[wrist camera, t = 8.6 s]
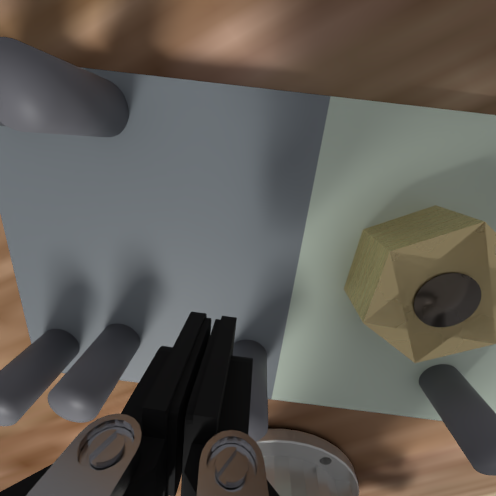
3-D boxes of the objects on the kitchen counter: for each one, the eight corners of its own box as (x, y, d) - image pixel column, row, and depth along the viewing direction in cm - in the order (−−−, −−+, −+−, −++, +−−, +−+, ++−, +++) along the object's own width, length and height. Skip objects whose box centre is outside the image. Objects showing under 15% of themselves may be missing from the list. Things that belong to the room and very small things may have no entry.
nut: (497, 215, 13) (566, 235, 10) (437, 331, 15) (479, 374, 12) (373, 195, 13) (407, 209, 10) (335, 315, 15) (352, 354, 12)
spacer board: (718, 145, 12) (1060, 143, 7) (525, 418, 18) (626, 523, 13) (-15, 61, 12) (-213, -1, 7) (48, 358, 19) (-32, 437, 14)
